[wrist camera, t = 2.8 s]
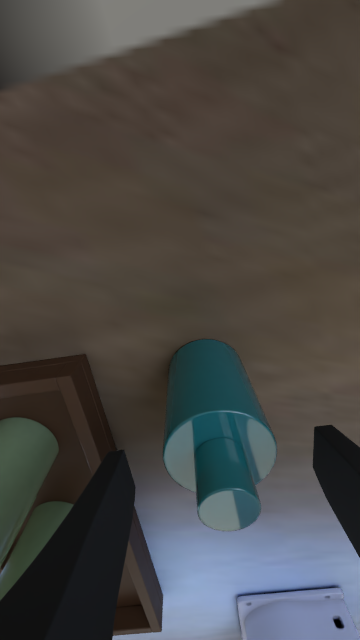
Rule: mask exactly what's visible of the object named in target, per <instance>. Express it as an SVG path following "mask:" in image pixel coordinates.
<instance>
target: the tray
mask: <svg viewBox="0 0 360 640" xmlns="http://www.w3.org/2000/svg"><path fill="white" fill-rule="evenodd" d="M11 417H22V418H27V419H31V420H34V421H36V422H39V423H40V424H42V425H44V426H45V427H47V428H48V429H49V430H50V431H51V432H52V433H53V435H54V436H55V438H56V440H57V442H58V446H59V452H58V456H57V458H56V460H55V462H54V464H53V466H52V468H51V470H50V472H49V474H48V476H47V478H46V480H45V482H44V484H43V486H42V488H41V490H40V491H39V493H38V495H37V497H36V499H35V501H34V503H33V505H32V507H31V509H30V511H29V513H28V515H27V517H26V519H25V521H24V523H23V525H22V526H21V528H20V530H19V532H18V534H17V536H16V538H15V540H14V542H13V544H12V546H11V548H10V550H9V552H8V554H7V556H6V558H5V559H4V561H3V563H2V565H1V567H0V574H1V572H2V570H3V568H4V566H5V564H6V562H7V560H8V558H9V556H10V554H11V552H12V550H13V548H14V546H15V544H16V542H17V540H18V538H19V536H20V534H21V532H22V530H23V529H24V527H25V525H26V523H27V521H28V519H29V517H30V515H31V513H32V511H33V510H34V509H35V508H36V507H37V506H39V505H40V504H43V503H46V502H51V501H62V502H67V503H71V504H75V502H76V501H77V499H78V498H79V496H80V495H81V493H82V492H83V490H84V489H85V487H86V486H87V484H88V483H89V481H90V480H91V478H92V476H93V475H94V473H95V472H96V470H97V468H98V467H99V465H100V464H101V462H102V460H103V459H104V457H105V456H106V454H107V453H108V452H110V451H117V450H116V447H115V444H114V441H113V438H112V435H111V432H110V429H109V425H108V422H107V419H106V416H105V413H104V410H103V407H102V404H101V400H100V397H99V394H98V391H97V388H96V385H95V382H94V379H93V375H92V372H91V369H90V366H89V363H88V360H87V357H86V354H83V355H76V356H68V357H61V358H54V359H47V360H40V361H33V362H26V363H19V364H12V365H4V366H0V420H3V419H6V418H11ZM162 607H163V594H162V591H161V588H160V585H159V582H158V579H157V576H156V572H155V569H154V566H153V563H152V560H151V557H150V554H149V551H148V547H147V544H146V541H145V538H144V535H143V532H142V529H141V526H140V522H139V519H138V516H137V513H136V510H135V507H134V510H133V519H132V525H131V530H130V536H129V541H128V547H127V552H126V557H125V563H124V568H123V573H122V579H121V584H120V589H119V594H118V600H117V606H116V613H115V620H114V628H113V636H114V635H126V634H139V633H151V632H161V631H162V609H163V608H162Z"/></svg>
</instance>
